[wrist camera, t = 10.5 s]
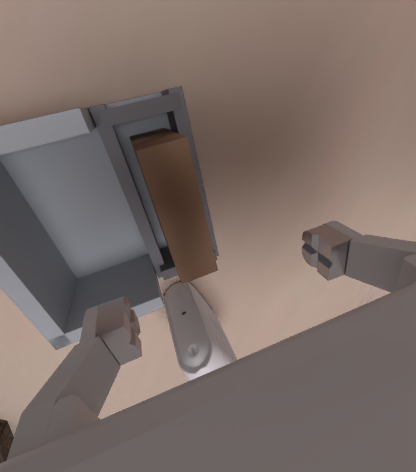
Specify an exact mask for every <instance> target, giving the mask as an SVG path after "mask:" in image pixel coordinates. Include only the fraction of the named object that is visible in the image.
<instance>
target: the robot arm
mask: <svg viewBox="0 0 416 472" xmlns="http://www.w3.org/2000/svg"><path fill="white" fill-rule="evenodd" d="M302 240H303V241H304V242H305V244H304V245H303V247H302V254H303V257H304V259H305V260H306V262H307V263H308V264H309V265H310V266H313V267H317V271H318V273H320V274H321V275H322V276H323V277H324V278H325V279H327V280H328V281H329V280H331V279H334V278H337V277H339V276H342V275H345V276H348V277H351V278H354V279H356V280H359V281H362V282H364V283H367V284H370V285H373V286H375V287H378V288H381V289H383V290H386V291H389V292H392V293H390V294H387V295H385V296H383V297H381V298H378V299H376V300H374V301H371V302H369V303H367V304H365V305H362V306H360V307H358V308H355V309H353V310H351V311H349V312H346V313H344V314H342V315H339V316H337V317H335V318H333V319H330V320H328V321H326V322H323V323H321V324H319V325H317V326H314V327H312V328H310V329H307V330H305V331H303V332H301V333H298V334H296V335H294V336H291V337H289V338H287V339H284V340H282V341H280V342H278V343H275V344H273V345H271V346H268V347H266V348H264V349H262V350H259V351H257V352H255V353H252V354H250V355H248V356H245V357H243V358H241V359H239V360H236V361H234V362H232V363H229V364H227V365H225V366H223V367H220V368H218V369H216V370H213V371H211V372H209V373H206V374H204V375H202V376H200V377H197V378H195V379H193V380H190V381H188V382H186V383H184V384H181V385H179V386H177V387H174V388H172V389H170V390H168V391H165V392H163V393H161V394H158V395H156V396H154V397H151V398H149V399H147V400H145V401H142V402H140V403H138V404H135V405H133V406H131V407H129V408H126V409H124V410H122V411H119V412H117V413H115V414H113V415H110V416H108V417H106V418H103V419H101V420H100V419H99V418H98V415H99V413H100V411H101V408H102V406H103V404H104V402H105V400H106V397H107V395H108V393H109V391H110V389H111V387H112V384H113V382H114V380H115V378H116V376H117V373H118V371H119V369H120V366H121V365H123V364H125V363H127V362H130V361H132V360H134V359H137V358H139V357H141V356H142V350H141V341H140V339H139V337H138V335H139V333H140V326H139V322H138V318H137V316H136V313H135V311H134V310H132V309H130V302H129V300H128V298H127V297H126V296H124V297H121V298H118V299H115V300H112V301H109V302H106V303H103V304H100V305H97V306H94V307H91V308H89V309H87V310H86V311H85V315H84V320H83V326H82V331H81V337H80V342H79V344H77V345H75V346H74V348H73V349H72V350H71V351H70V353H69V354H68V355H67V356H66V358H65V359H64V360H63V362H62V363H61V364H60V365H59V367H58V368H57V369H56V370H55V372H54V373H53V374H52V376H51V377H50V378H49V379H48V381H47V382H46V383H45V384H44V386H43V387H42V388H41V390H40V391H39V392H38V393H37V395H36V396H35V397H34V398H33V400H32V401H31V402H30V404H29V405H28V406H27V407H26V409H25V410H24V411H23V412H22V414H21V417H20V420H19V423H18V426H17V429H16V432H15V436H14V439H13V442H12V445H11V448H10V451H9V454H8V457H7V460H6V461H5V462H3V463H0V472H416V242H412V241H405V240H399V239H392V238H386V237H379V236H372V235H364V236H363V235H361V234H359V233H358V232H356V231H354V230H352V229H350V228H348V227H347V226H345V225H343V224H341V223H339V222H337V221H331V222H328V223H325V224H323V225H321V226H318V227H315V228H313V229H310V230H307V231H304V233H303V236H302Z"/></svg>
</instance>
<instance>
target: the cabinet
mask: <svg viewBox="0 0 416 472" xmlns="http://www.w3.org/2000/svg"><path fill="white" fill-rule="evenodd" d="M161 128H166V129H169V130H171V131H174V132H176V133H179V134H181V135H184V136H186V137H187V138H188V142H189V147H190V151H191V155H192V160H193V164H194V168H195V173H196V177H197V181H198V186H199V190H200V194H201V199H202V203H203V207H204V212H205V216H206V220H207V225H208V229H209V233H210V238H211V242H212V246H213V251H214V255H215V259H216V260H217V257H216V256H219V254H218V250H217V245H216V241H215V236H214V232H213V227H212V223H211V218H210V213H209V209H208V204H207V200H206V195H205V191H204V186H203V182H202V177H201V172H200V168H199V163H198V159H197V154H196V150H195V145H194V141H193V136H192V131H191V127H190V122H189V118H188V113H187V109H186V104H185V100H184V95H183V90H182V86H180V87H176V88H172V89H168V90H165V91H162V92H159V93H154V94H150V95H146V96H141V97H137V98H133V99H128V100H124V101H120V102H115V103H111V104H107V105H105V104H102V105H98V106H94V107H89V108H76V109H72V110H68V111H63V112H59V113H55V114H50V115H46V116H42V117H37V118H33V119H29V120H24V121H20V122H15V123H11V124H7V125H2V126H0V288H1V289H2V290H3V291H4V292H5V293H6V294H7V296H8V297H9V298H10V299H11V300H12V301H13V302H14V303H15V304H16V306H17V307H18V308H19V309H20V310H21V311H22V312H23V313H24V315H25V316H26V317H27V318H28V319H29V320H30V321H31V322H32V323H33V325H34V326H35V327H36V328H37V329H38V330H39V331H40V332H41V334H42V335H43V336H44V337H45V338H46V339H47V340H48V341H49V342H50V344H51V345H52V346H53V347H54V348H55V349H56V350H57V349H60V348H62V347H65V346H67V345H70V344H72V343H75V342H77V341H80V337H81V331H82V326H83V320H84V315H85V311H86V310H87V309H89V308H91V307H94V306H97V305H100V304H103V303H106V302H109V301H112V300H115V299H118V298H121V297H124V296H126V297H127V298H128V300H129V302H130V309H132V310H134V311H135V313H136V316H137V318H138V317H140V316H143V315H145V314H148V313H150V312H153V311H155V310H158V309H160V308H163V307H164V303H163V299H162V295H161V291H160V287H159V282H158V278H160V277H163V278H164V280H166V279H169V278H171V277H174V276H176V275H178V273H177V270H176V267H175V264H174V262H173V259H172V256H171V254H170V251H169V248H168V246H167V243H166V240H165V237H164V235H163V232H162V229H161V226H160V223H159V220H158V218H157V215H156V212H155V209H154V206H153V203H152V200H151V198H150V195H149V192H148V189H147V186H146V183H145V180H144V178H143V175H142V172H141V169H140V166H139V163H138V160H137V158H136V155H135V152H134V149H133V146H132V143H131V140H130V138H129V137H130V136H134V135H137V134H141V133H145V132H149V131H153V130H157V129H161ZM156 273H157V274H156ZM157 276H158V278H157Z"/></svg>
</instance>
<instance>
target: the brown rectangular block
mask: <svg viewBox="0 0 416 472" xmlns="http://www.w3.org/2000/svg"><path fill="white" fill-rule="evenodd" d="M129 138H130V140H131V143H132V146H133V149H134V152H135V155H136V158H137V160H138V163H139V166H140V169H141V172H142V175H143V178H144V180H145V183H146V186H147V189H148V192H149V195H150V198H151V200H152V203H153V206H154V209H155V212H156V215H157V218H158V220H159V223H160V226H161V229H162V232H163V235H164V237H165V240H166V243H167V246H168V248H169V251H170V254H171V256H172V259H173V262H174V264H175V267H176V270H177V273H178V275H179V278H180V281H181V283H182V284H184V283H186V282H189V281H191V280H194V279H197V278H199V277H202V276H204V275H207V274H210V273H212V272H215V271H217V270H218V268H217V264H216V259H215V255H214V251H213V246H212V242H211V238H210V233H209V229H208V225H207V220H206V216H205V212H204V207H203V203H202V199H201V194H200V190H199V186H198V181H197V177H196V173H195V168H194V164H193V160H192V155H191V151H190V147H189V142H188V138H187V137H186V136H184V135H181V134H179V133H176V132H174V131H171V130H169V129H166V128H161V129H157V130H153V131H149V132H145V133H141V134H137V135H134V136H130V137H129Z"/></svg>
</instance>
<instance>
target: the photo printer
mask: <svg viewBox="0 0 416 472" xmlns="http://www.w3.org/2000/svg"><path fill="white" fill-rule="evenodd" d="M164 304H165V308H166V313H167V317H168V321H169V326H170V330H171V334H172V339H173V343H174V347H175V351H176V355H177V359H178V363H179V366H180V368H181V370H182V372H183V374H184V376H185V377H186V379H187V380H188V381H190V380H193V379H195V378H197V377H200V376H202V375H204V374H206V373H209V372H211V371H213V370H216V369H218V368H220V367H223V366H225V365H227V364H229V363H232V362H234V361H236V360H237V358H236V356H235V354H234V352H233V350H232V348H231V345H230V343H229V341H228V339H227V337H226V335H225V333H224V331H223V329H222V326H221V324H220V322H219V320H218V318H217V317H216V315H215V314H214V312H213V311H212V309H211V308H210V307H209V305H208V304H207V303H206V301H205V300H204V299H203V297H202V296H201V295H200V294H199V292H198V291H197V290H196V289H195V288H194V287H193V286H192V285H191V284H190V283H189V282H186V283H184V284H182V283H181V282H178V283H175V284H173V285H172V286H171V287H169V289H168V290H167V291H166V295H164Z"/></svg>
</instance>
